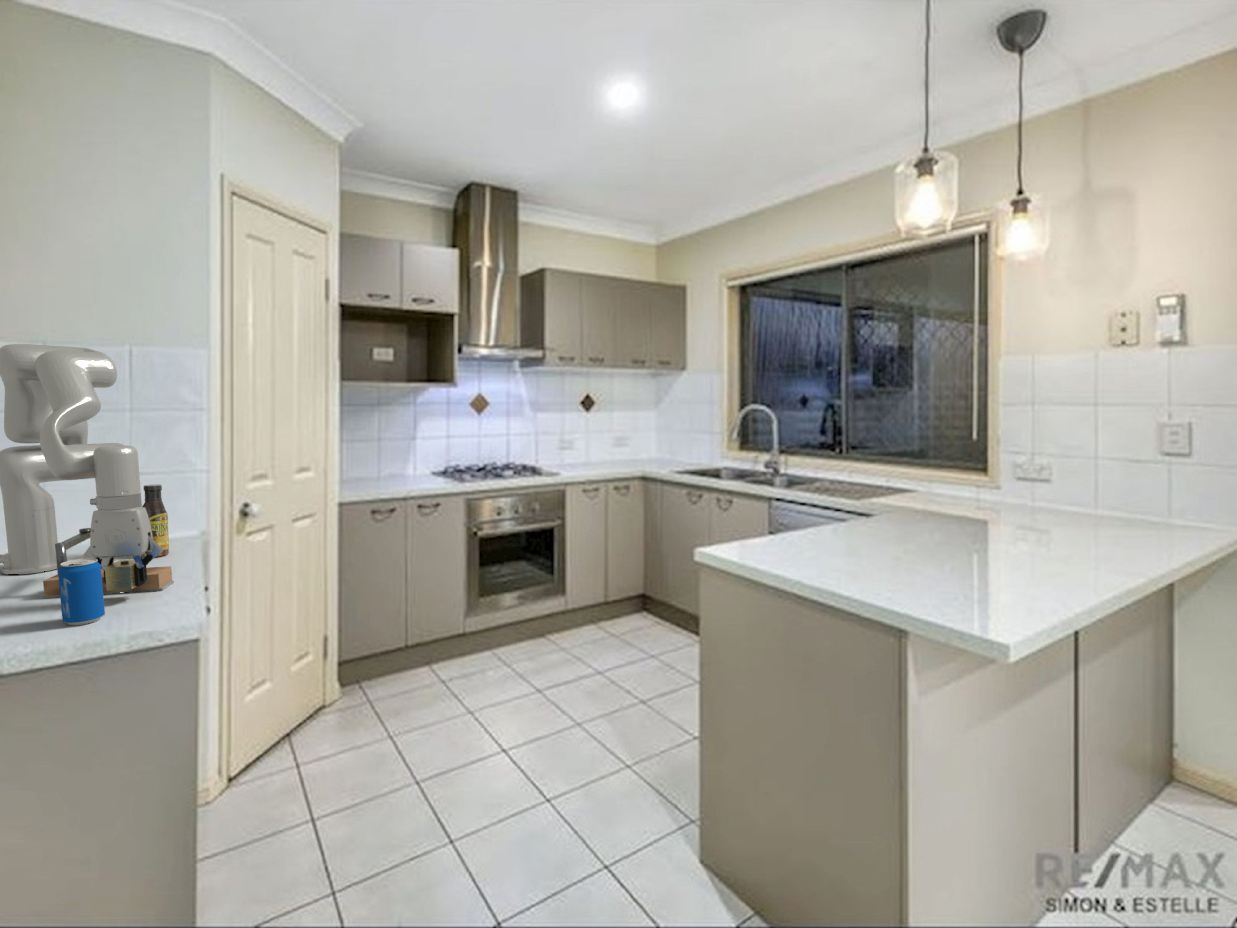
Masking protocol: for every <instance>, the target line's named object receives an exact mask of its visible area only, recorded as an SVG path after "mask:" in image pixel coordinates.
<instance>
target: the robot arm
mask: <svg viewBox="0 0 1237 928" xmlns="http://www.w3.org/2000/svg"><path fill="white" fill-rule="evenodd" d="M0 378H1V381H2V383H3V385H4V386H3V387H4V407H3V411H4V412H3V427H4V428H3V429H4V430H3V431H4V434H5V437H6V438H7V439H8V440H9V441H11V442H13V443H16V444H17V443H18V444H32V445H19V446H17V445H16V446H11V447H7V448H4V449H1V450H0V492H1V496H2V505H3V514H4V523H5V532H6V536H5V537H6V543H7V552H6V553H4V554H0V564H3V566H2V567H1V568H0V569H1V573H2V574H3V575H8V574H19V575H29V574H38V573H43V572H44V571H45V572H50V571H54V570H57V562H56V551H55V544H56V543H59V541H58V540H59V539H58V531H57V530H58V529H57V520H56V518H57V517H56V507H55V501H54V497H53V496H52V495H51V493H49V492H48V491H47V490H46V489H44V488H43V487H42V486H41V485H40V484H43V483H48V482H51V483H52V482H59V481H60V482H61V481H75V480H76V481H77V480H88V479H95V480H94V481H95V491H96V496H95V498H90V499H89V504H90V505H91V506H96V509H97V510H94V511H92V516H91V523H90V528H91V532H90V538H89V540H90V541H89V542H90V543H89V544H90V545H89V547H88V548H87V549H86V550H85V552H84V553H83V557H84V559H86V558H94V559H97V560H98V561H97V562H98V563H99V564H100V565H101V570H104V581H105V584H106V576H105V567H107V566H109V565H111V564H113V563H115V558H123V557H133V560H135V563H136V568H135V570H134V573H135V585H136V586H141V585H143V584H144V583H145V581H146V580H147V569H146V568H147V566H148V565H149V564H150V562H152V561H153V560H154V559H155V558H157V557H156V556H157V555H159V554H160V553H161V552H163V549H162V548H161V547H160V546H159V545H158V544H157V543H156V542H155V541H154V540H153V537H152V530H151V525H150V521H149V517H148V514H147V511H146V508H145V507H142V506H143V503H142V489H141V479H140V477H141V476H140V466H139V465H140V464H139V453H138V450H137V448H135V446H131V445H125V444H122V443H118V442H105V443H88V434H89V424H88V420H91V419H92V418H94V417H96V416H97V415H98V414H99V413H100V411H101V409H102V405H101V404H102V403H101V401H100V399H99V396H98V395H97V392H96V391H95V388H96V389H97V388H100V389H101V388H103V389H105V388H107V389H108V388H110V387H112V386H114V384H116V382H117V378H118V372H117V367H116V364H115V363H114V361H113V360H112V358H111V357H110V356H109V355H107V354H106V353H105V352H102V351H98V350H94V349H92V348H91V349H90V348H87V347H79V346H76V347H75V346H64V345H63V346H62V345H51V344H50V345H47V344H35V343H34V344H33V343H31V344H27V343H11V344H10V343H9V344H5V345H3V346H1V347H0ZM33 444H35V445H33ZM37 444H39V445H37ZM149 550H152V552H151V553H150V554H148V555H147V556H146V554H145V552H146V551H149Z"/></svg>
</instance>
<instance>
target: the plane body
mask: <svg viewBox="0 0 1237 928" xmlns="http://www.w3.org/2000/svg"><path fill="white" fill-rule="evenodd" d="M146 569H147V580H146V581H145V583H144V584H143V585H141V586H136V587H134V588H133V589H126V590H110V591H107V588H106V584H105V581H104V570H101V573H102V585H103V594H104V595H112V594H111V593H119V594H121V593H120V592H135V593H145V592H144V591H150V592H162V591H164V590H166V589H167V588H169V587H170V586H171V585H173V584H174V583H175V582H174V580H173V573H172V565H170V566H169V565H168V566H153V567H146ZM42 585H43V594H44V595H43V596H42V598H43V599H54V598H60V588H59V577H58V573H57V574H55V575H53V576H51V577H49V578H46V579H44V580H42ZM166 587H167V588H166Z"/></svg>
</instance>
